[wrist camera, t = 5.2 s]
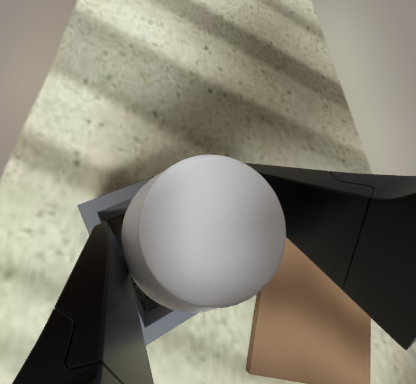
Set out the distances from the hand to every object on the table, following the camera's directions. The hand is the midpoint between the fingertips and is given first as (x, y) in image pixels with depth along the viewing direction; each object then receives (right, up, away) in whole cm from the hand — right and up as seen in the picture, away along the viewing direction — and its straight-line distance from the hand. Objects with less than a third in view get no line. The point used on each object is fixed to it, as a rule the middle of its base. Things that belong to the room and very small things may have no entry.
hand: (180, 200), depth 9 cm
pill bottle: (-1, -3, +6) cm, 7 cm away
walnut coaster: (+10, -9, +10) cm, 17 cm away
